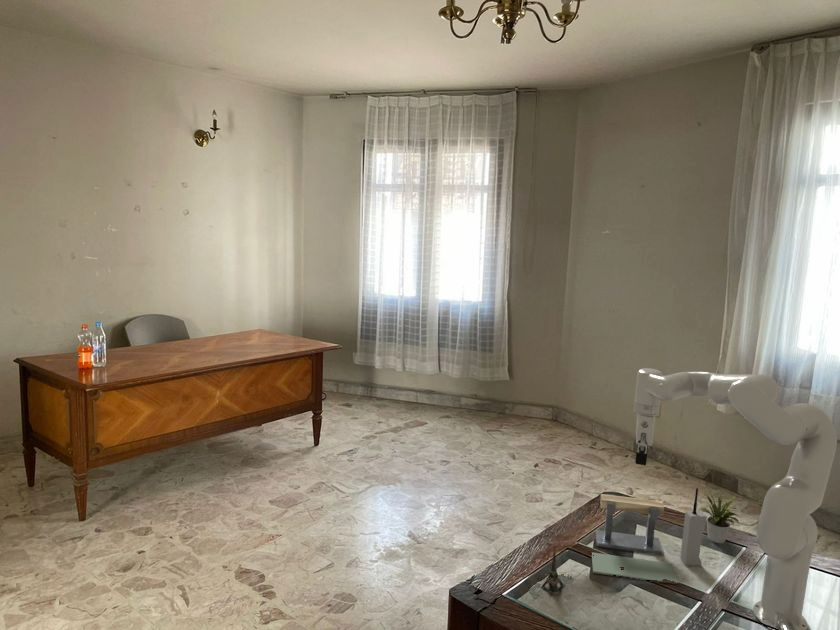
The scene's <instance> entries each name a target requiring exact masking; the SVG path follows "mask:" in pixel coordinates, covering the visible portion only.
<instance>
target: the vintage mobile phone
mask: <svg viewBox="0 0 840 630" xmlns="http://www.w3.org/2000/svg"><path fill="white" fill-rule="evenodd" d="M698 494H699V488H695V494H694V496H695V497H694V502H693V509H692V510H690V509H689V510H688V509H687V510H684V511H685V512H684V522H683V530H682V531H683V532H682V540H681V548H680V549H681V550H680V560H681V561H682V563H683V564H684V565H685V566H692V567H693V566H694V567H695V566H696V567H700V566H702V561H701V558H700V553H701V543H702V537H703V534H704V532H705V527H706V525H707V518H708V516H707V515H706V514H705V512H702V510H697V507H698V496H699V495H698Z"/></svg>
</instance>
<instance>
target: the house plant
mask: <svg viewBox="0 0 840 630" xmlns="http://www.w3.org/2000/svg"><path fill="white" fill-rule="evenodd" d="M693 494H694V495H695V494H696V492H695V493H693ZM704 495H705V498H707V499H705V500H706V502H708V501H709V502H708V503H709V504H708V505H706V506H705V507H701V508H700V509H699V511H702V512H703V513H707V514H709V516H707V520H706V529H707V538H708V540H709V541H710V542H713V543H715V544H725V542H726V540H727V537H728V533H729V530H730V527H731V524H733V525H735V521H736V523H738V524H739V523H740V521H739V520H738V519H737V517H739V518H740V519H742V517H741V516H739V514H737V513H735V512H733V510H734V509H735V508H737V507H740V505H735V506H732V507H730V506H731V505H732V504H733V502H734V500H735V499H736V498H737V495H735V496H732V497H731V498H729V499H727V501H725V502H724V503H723V504H722V501H723V497H724V492H723V493H722V494H720V493H718V498H717V503H718V505H717V503H716V502H715V499H714V497H713V495H712V494H710V493H708V492H707V493H704ZM709 495H710V496H709ZM698 496H701V497H703V498H704V496H703V495H701V494H699V493H698ZM711 498H712V499H711ZM707 500H708V501H707ZM707 506H708V507H709V509H710V510H709V509H707V508H706V507H707ZM729 507H730V508H729ZM710 511H711V512H710ZM733 516H737V517H733Z"/></svg>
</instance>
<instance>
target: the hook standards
mask: <svg viewBox="0 0 840 630" xmlns="http://www.w3.org/2000/svg"><path fill="white" fill-rule="evenodd" d="M606 495H614V494H612V493H606ZM647 499H648V500H656V499H655V498H654V499H652V498H647ZM615 506H616V504H615V503H610V502H608V503H607V509H605V510H606V511H605V521H604V530H601V529H595V539H596V540H595V541H596V546H597V547H600V548H608V549H615V550H623V551H628V552H629V551H631V552H637V553H643V554H652V555H658V556H663V553H664V552H663V549H662V545H661V541H660V539H659V537H655V528H656V520H659V515H658V513H659V509H658V508H651V507H650V514H647V523H646V533H645V535H639V534H632V533H631V534H629V533H623V532H615V531H613V523H614V522H613V519H614V515H615V514H616V510H615Z"/></svg>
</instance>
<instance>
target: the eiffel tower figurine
mask: <svg viewBox="0 0 840 630" xmlns="http://www.w3.org/2000/svg"><path fill="white" fill-rule="evenodd" d="M556 552H557V550H556V548H554V549H553V557H552V564H551V568H550V570H549V571H550V572H549V576H547V577H546V578H545V579H543V580H542V581H539V582H537V583H536V584H535V585H533V586H532V587H531V588H530V589H528V590H529V592H530V593H531V595H532V597H533V598H534V599H540V598H541V596H540V593H541V590H543V591H547V592H548V593H551V594H553V595H557V596H559V595H560V593H561V594H563V592H562V591H563V589H564V588H565V586H566V584H565V583H570V582H571V581H572V580H574V578H573V577H572V575H571V576H570V577H569V575H568V576H567V577H566V576H564V574H561V575H558V571H557V563H556V562H557V561H556V559H557V558H556V554H557V553H556Z"/></svg>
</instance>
